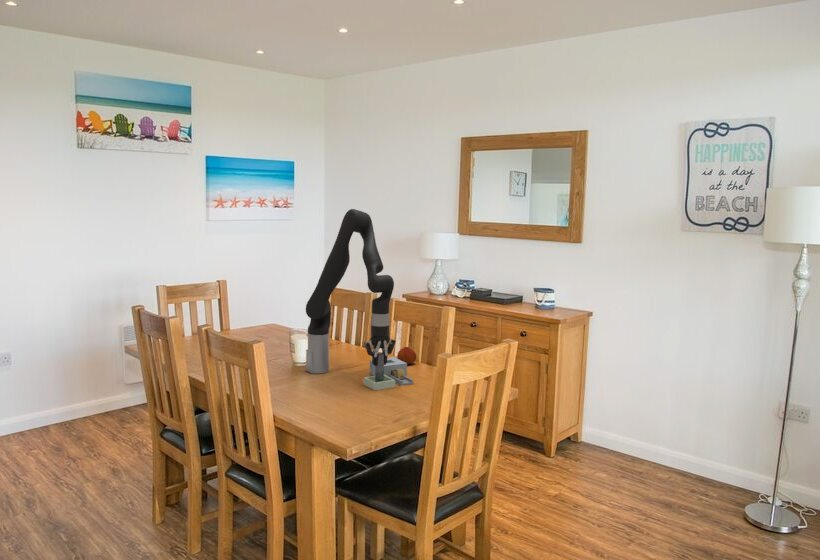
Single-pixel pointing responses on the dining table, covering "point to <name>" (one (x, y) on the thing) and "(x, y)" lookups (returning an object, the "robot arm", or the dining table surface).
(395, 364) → the socket block
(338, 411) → the dining table surface
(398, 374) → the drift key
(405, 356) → the fruit
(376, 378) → the drill peg
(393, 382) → the tray
